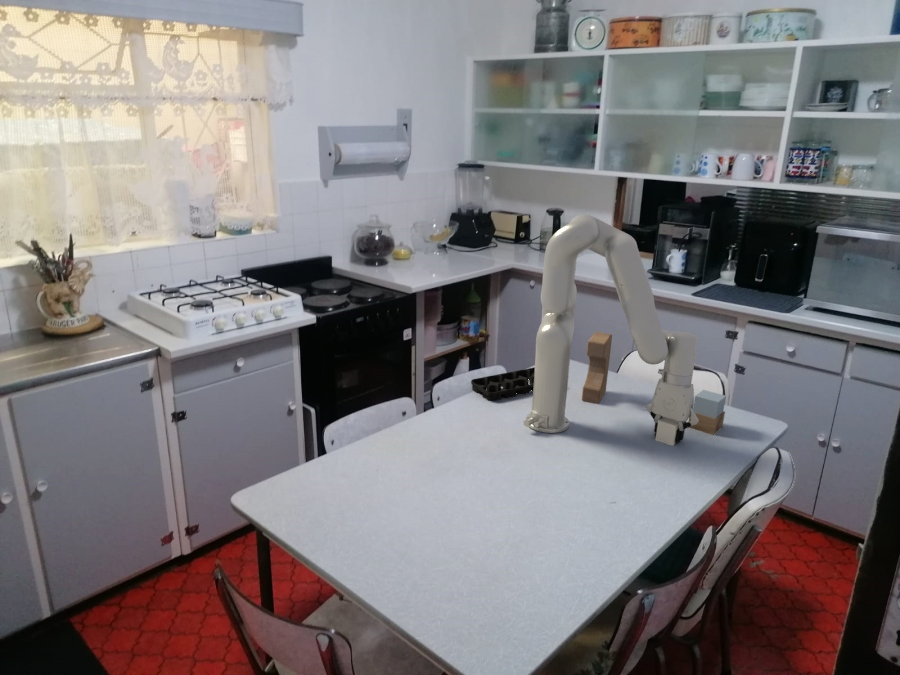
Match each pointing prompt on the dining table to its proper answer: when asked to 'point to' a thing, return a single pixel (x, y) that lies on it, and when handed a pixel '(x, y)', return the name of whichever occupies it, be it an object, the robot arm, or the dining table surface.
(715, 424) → the tower base
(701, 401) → the tower top
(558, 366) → the robot arm
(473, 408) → the dining table surface
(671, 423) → the cream block
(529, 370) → the egg carton
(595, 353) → the decorative block
